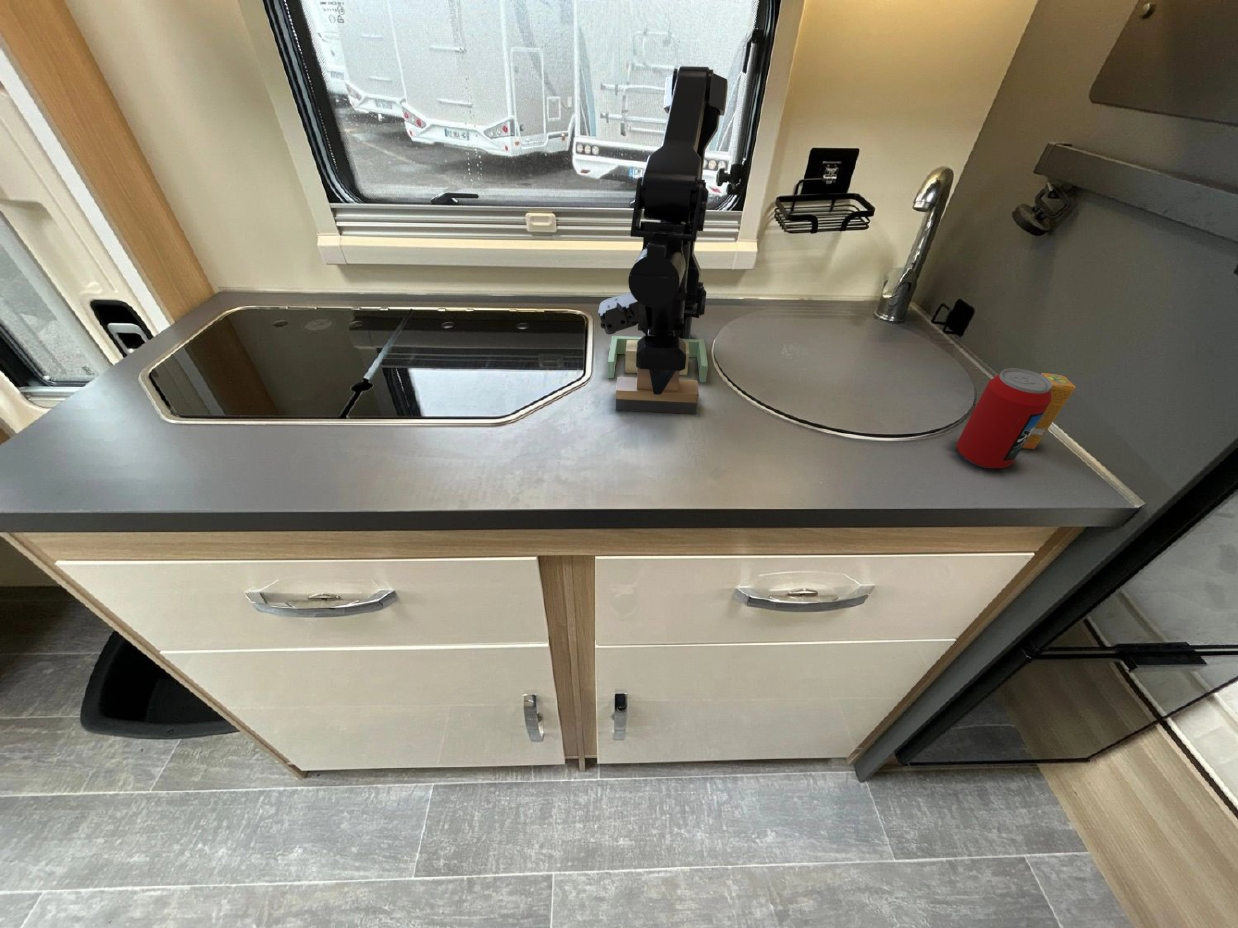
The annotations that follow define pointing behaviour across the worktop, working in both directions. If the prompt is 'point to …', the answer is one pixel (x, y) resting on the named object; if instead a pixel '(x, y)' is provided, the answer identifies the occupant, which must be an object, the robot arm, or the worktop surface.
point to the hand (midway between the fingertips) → (657, 383)
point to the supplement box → (1051, 407)
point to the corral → (620, 342)
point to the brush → (641, 397)
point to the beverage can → (1004, 417)
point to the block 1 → (631, 356)
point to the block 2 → (684, 372)
